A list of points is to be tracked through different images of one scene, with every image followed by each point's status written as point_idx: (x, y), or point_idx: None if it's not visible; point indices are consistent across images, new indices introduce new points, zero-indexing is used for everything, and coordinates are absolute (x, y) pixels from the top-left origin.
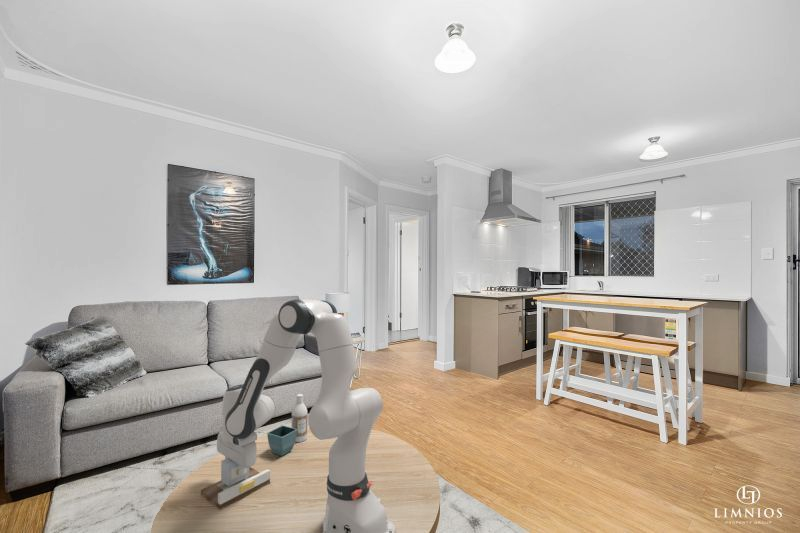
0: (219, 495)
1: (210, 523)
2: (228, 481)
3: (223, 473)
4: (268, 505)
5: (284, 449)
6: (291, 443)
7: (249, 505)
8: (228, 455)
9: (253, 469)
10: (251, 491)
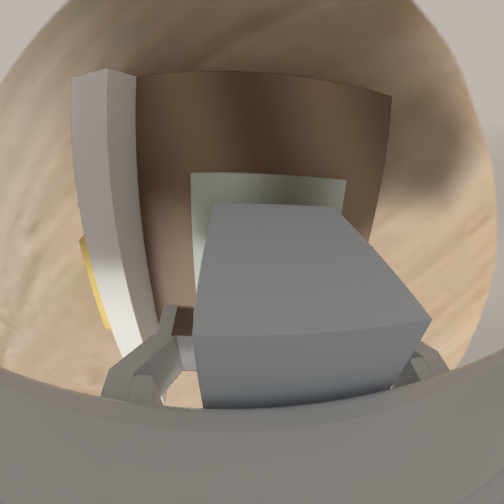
0: (88, 74)
1: (64, 21)
2: (214, 217)
3: (323, 239)
4: (15, 264)
5: None
6: None
7: (47, 213)
8: (379, 431)
9: None
10: None
